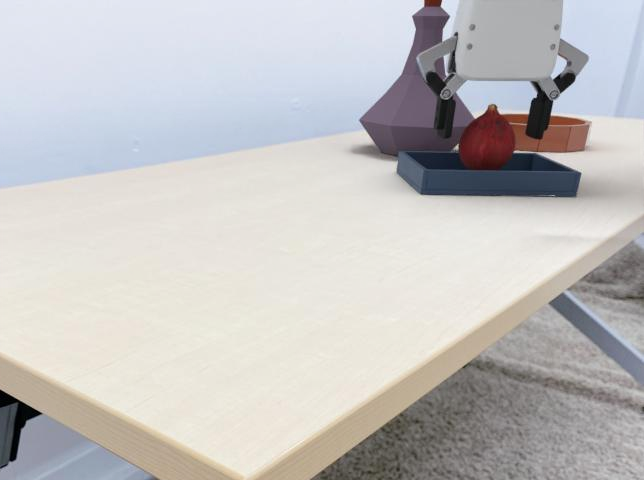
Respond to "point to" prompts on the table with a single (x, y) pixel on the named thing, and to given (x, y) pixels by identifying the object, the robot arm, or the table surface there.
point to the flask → (416, 97)
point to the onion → (487, 141)
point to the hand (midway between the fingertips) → (488, 137)
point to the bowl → (551, 134)
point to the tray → (486, 175)
